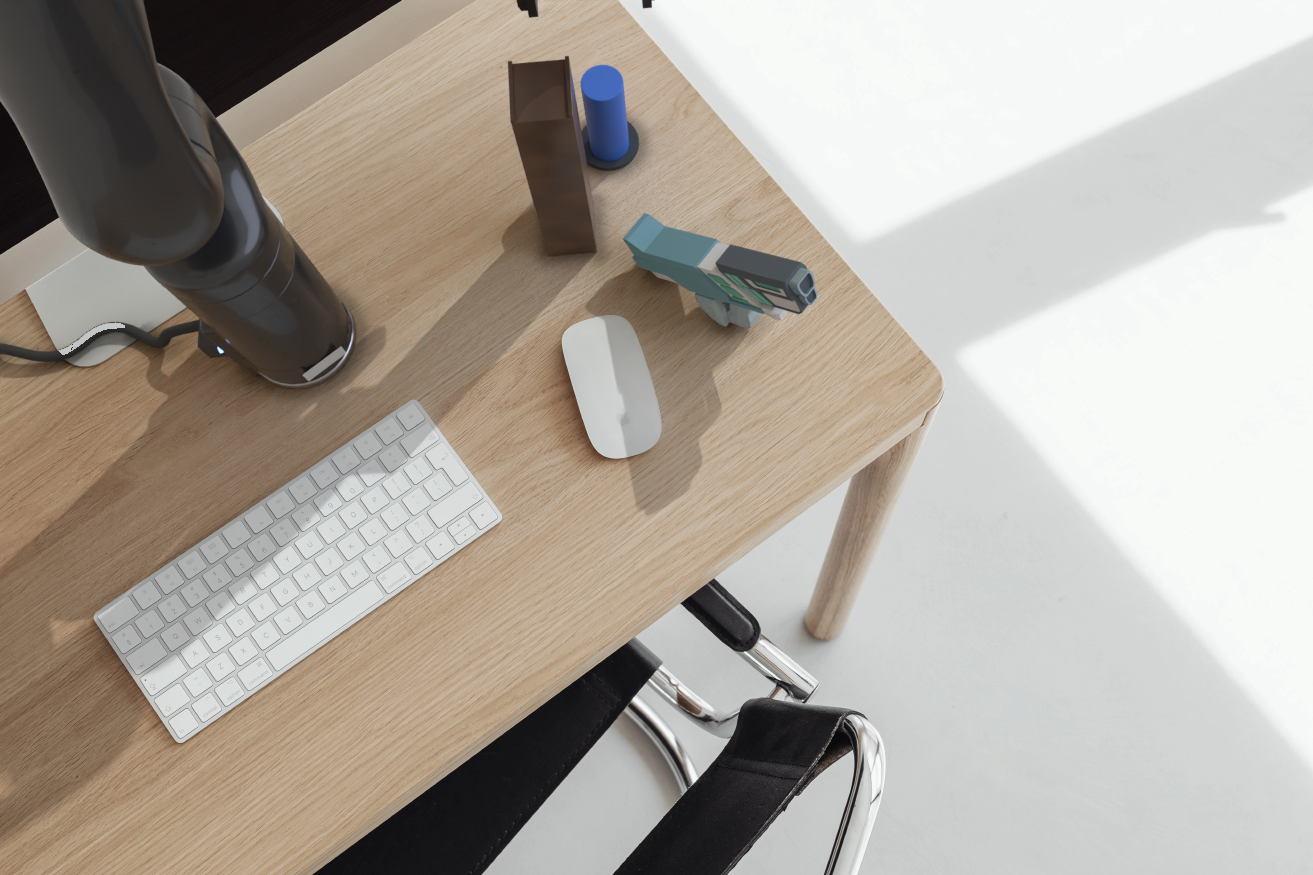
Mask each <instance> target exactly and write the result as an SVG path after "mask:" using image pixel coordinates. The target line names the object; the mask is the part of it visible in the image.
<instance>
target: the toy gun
mask: <svg viewBox="0 0 1313 875" xmlns="http://www.w3.org/2000/svg"><path fill="white" fill-rule="evenodd" d="M622 240H623V241H624V243H625V244H626V246H627V247H628V249H629V250H630V251H631V253H632V254H633V256H632V259H633V261H634V263H636V265H637V267H638V268H639V269H642V270H647V271H650V272H651V273H652V274H653V275H654V276H655V277H656V278H658V279H660V280H665V281H668V282H671V283H674V284H676V285H677V284H678V285H680V286H681V287H683V288H684V289H685V290H687V291H689V292H691V293H694V298H695V300H696V301H697V304H698V305H699V307H700V308H701V309H702V310H703V312H705V313H706V314H707V315H708V317H710V318H711V319H712V320H713V321H715V323H717V324H718V325H719V326H722V327H725V328H726V327H727V326H729V324H733V325H737V326H738V327H742V328H744V329H751V328H752V327H753V326H754V324H756V322H757V320H758V319H759V317H760V314H762V315H765V316H766V317H769V318H771V319H773V320H777V321H782V320H783V319H784V318H785V317H786V315H787V314H788V312H789V313H793V314H796V315H801V314H802V313H804V311H805V310H806V309H807V307H808V306H812V305H813V304H814V303H815V302H816V300H817V299H818V291H817V290H816V279H815V277H814V274H813V272H812V270H810V269H809V268H808V267H807V265H805V264H804V263H803V262H802V261H798V260H794V259H791V258H786V257H783V256H778V255H774V254H770V253H766V252H762V251H759V250H754V249H750V248H746V247H743V246H739V245H734V244H732V243H731V244H727V243H722V242H721V241H720V240H719V239H717V238H714V237H709V236H706V235H701V234H699V233H694V232H690V231H686V230H682V229H678V228H674V227H670V226H666V225H664V224H663V223H662V222H660V221H659V220H657V219H656V218H655V217H653V216H652V215H650V214H649V213H646V212H643V214H642V215H641V216H640V217H639V219H637V221H635V223H634V224H633V225H632V227H631V228H630V229H629V230H628V231H627V233H625V235H624V236H623V237H622Z"/></svg>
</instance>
